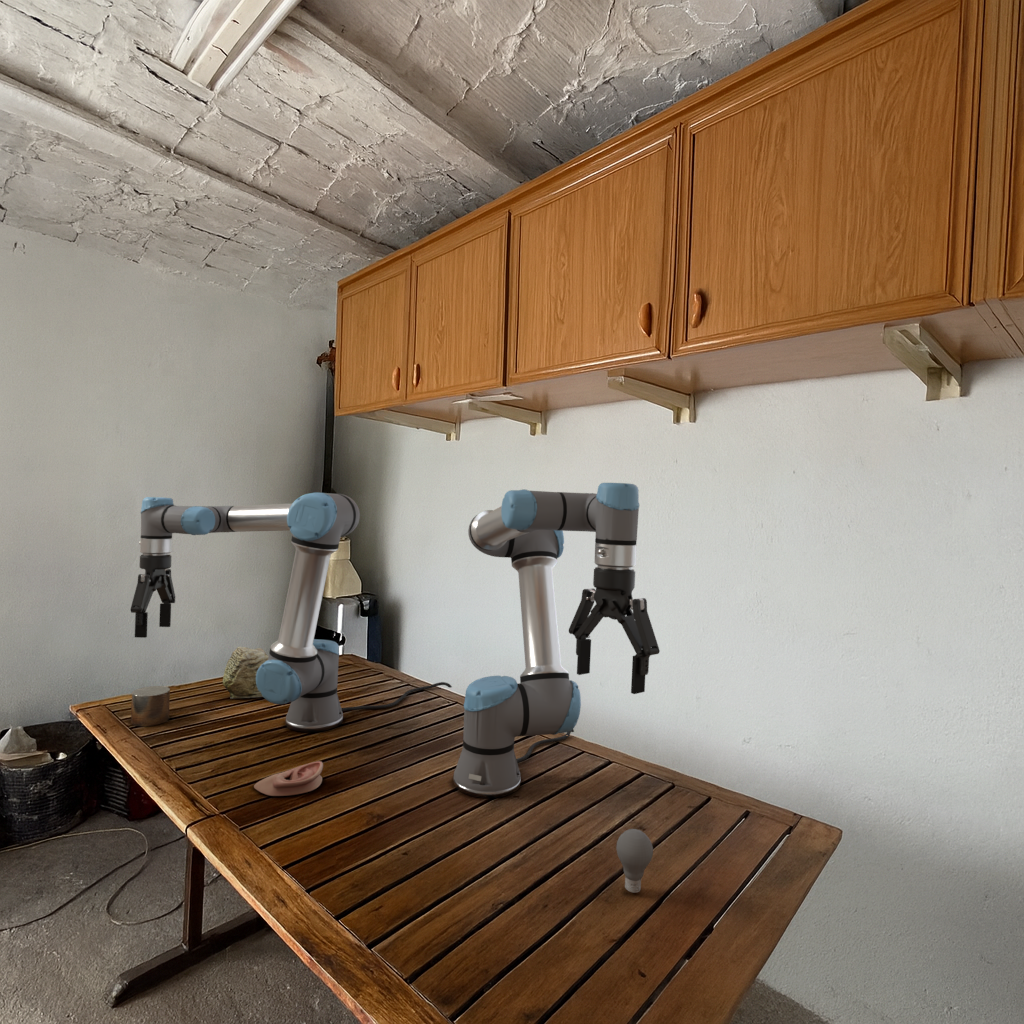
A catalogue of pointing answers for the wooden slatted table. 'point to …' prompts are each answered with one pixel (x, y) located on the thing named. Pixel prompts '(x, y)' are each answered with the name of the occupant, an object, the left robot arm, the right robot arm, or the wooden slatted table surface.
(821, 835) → the wooden slatted table surface
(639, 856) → the light bulb
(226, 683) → the fossil
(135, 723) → the tin
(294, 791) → the anatomical model
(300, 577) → the left robot arm
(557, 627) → the right robot arm
